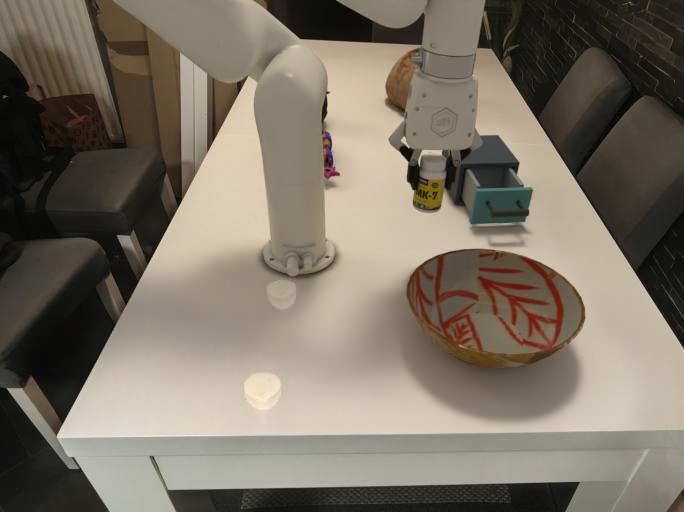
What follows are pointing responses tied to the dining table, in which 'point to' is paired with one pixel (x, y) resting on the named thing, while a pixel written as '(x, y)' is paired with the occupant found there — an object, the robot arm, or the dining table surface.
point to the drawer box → (483, 161)
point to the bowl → (494, 307)
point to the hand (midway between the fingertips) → (429, 185)
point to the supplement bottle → (430, 183)
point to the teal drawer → (495, 195)
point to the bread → (401, 80)
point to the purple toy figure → (328, 156)
